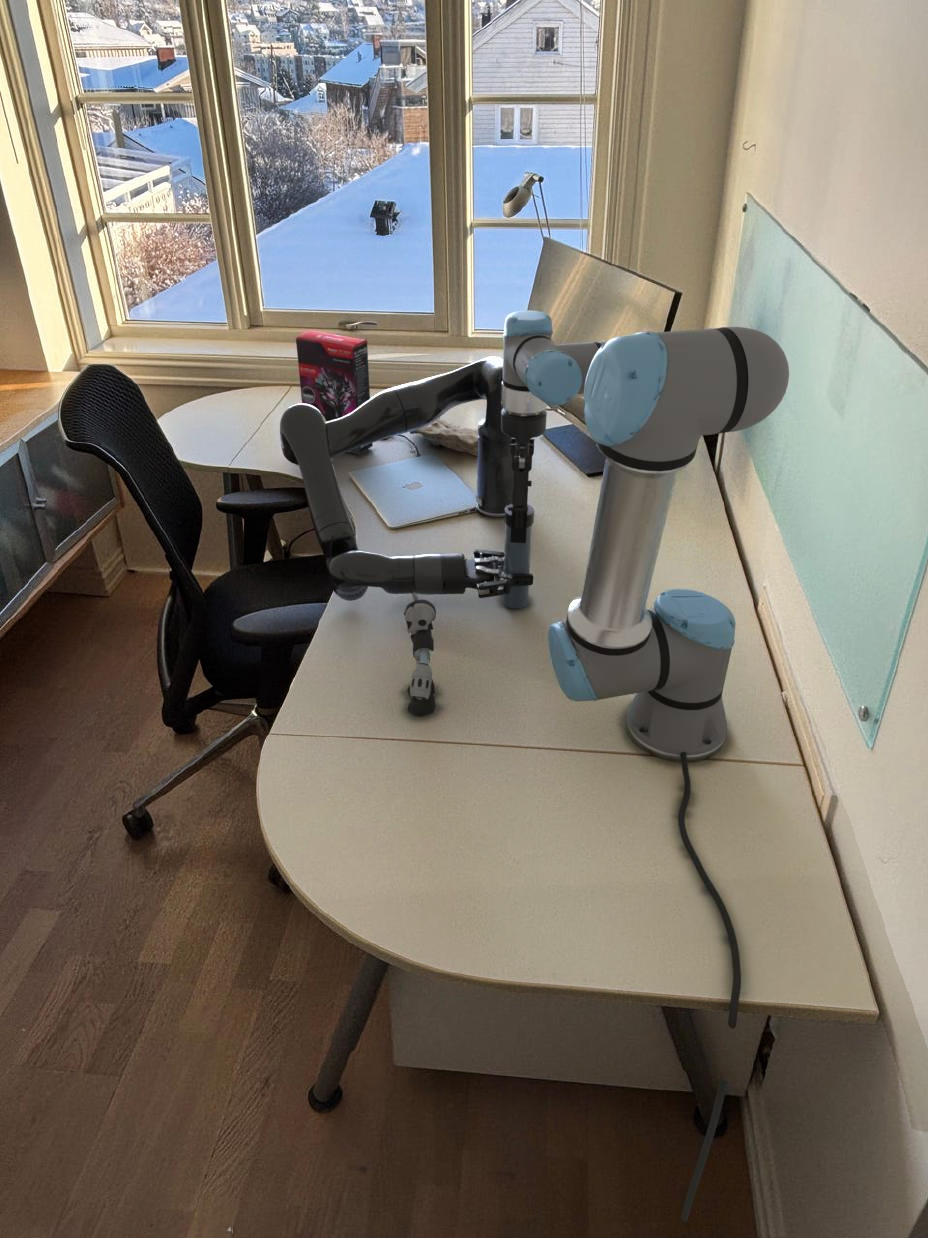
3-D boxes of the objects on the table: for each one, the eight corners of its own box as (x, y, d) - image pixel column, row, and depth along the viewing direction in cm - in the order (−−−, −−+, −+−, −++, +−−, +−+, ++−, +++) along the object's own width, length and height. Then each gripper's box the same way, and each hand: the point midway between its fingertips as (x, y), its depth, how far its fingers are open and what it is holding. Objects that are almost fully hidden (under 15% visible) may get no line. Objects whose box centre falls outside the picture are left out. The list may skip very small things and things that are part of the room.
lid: (538, 518, 165) (538, 506, 164) (526, 530, 161) (527, 519, 160) (511, 512, 167) (512, 500, 166) (499, 524, 163) (499, 512, 162)
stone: (393, 439, 229) (398, 415, 226) (412, 430, 242) (417, 408, 240) (473, 463, 225) (479, 439, 223) (488, 453, 238) (493, 431, 236)
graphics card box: (303, 443, 234) (292, 335, 219) (319, 434, 239) (310, 328, 224) (359, 456, 228) (353, 346, 212) (374, 446, 233) (369, 338, 217)
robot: (438, 740, 141) (437, 632, 129) (406, 740, 140) (402, 633, 129) (435, 663, 157) (434, 561, 146) (406, 664, 157) (403, 562, 145)
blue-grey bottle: (531, 598, 174) (537, 509, 164) (521, 611, 171) (526, 520, 160) (508, 592, 176) (512, 503, 166) (498, 604, 173) (501, 514, 162)
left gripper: (437, 571, 177) (525, 569, 178) (440, 612, 165) (535, 610, 166) (437, 537, 173) (527, 535, 174) (440, 576, 161) (537, 574, 162)
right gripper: (547, 433, 144) (539, 560, 157) (546, 388, 161) (539, 506, 173) (499, 431, 144) (495, 558, 157) (503, 386, 161) (499, 504, 174)
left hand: (530, 571), depth 170 cm, fingers closed on blue-grey bottle, 4 cm apart
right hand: (518, 530), depth 165 cm, fingers open, 7 cm apart
